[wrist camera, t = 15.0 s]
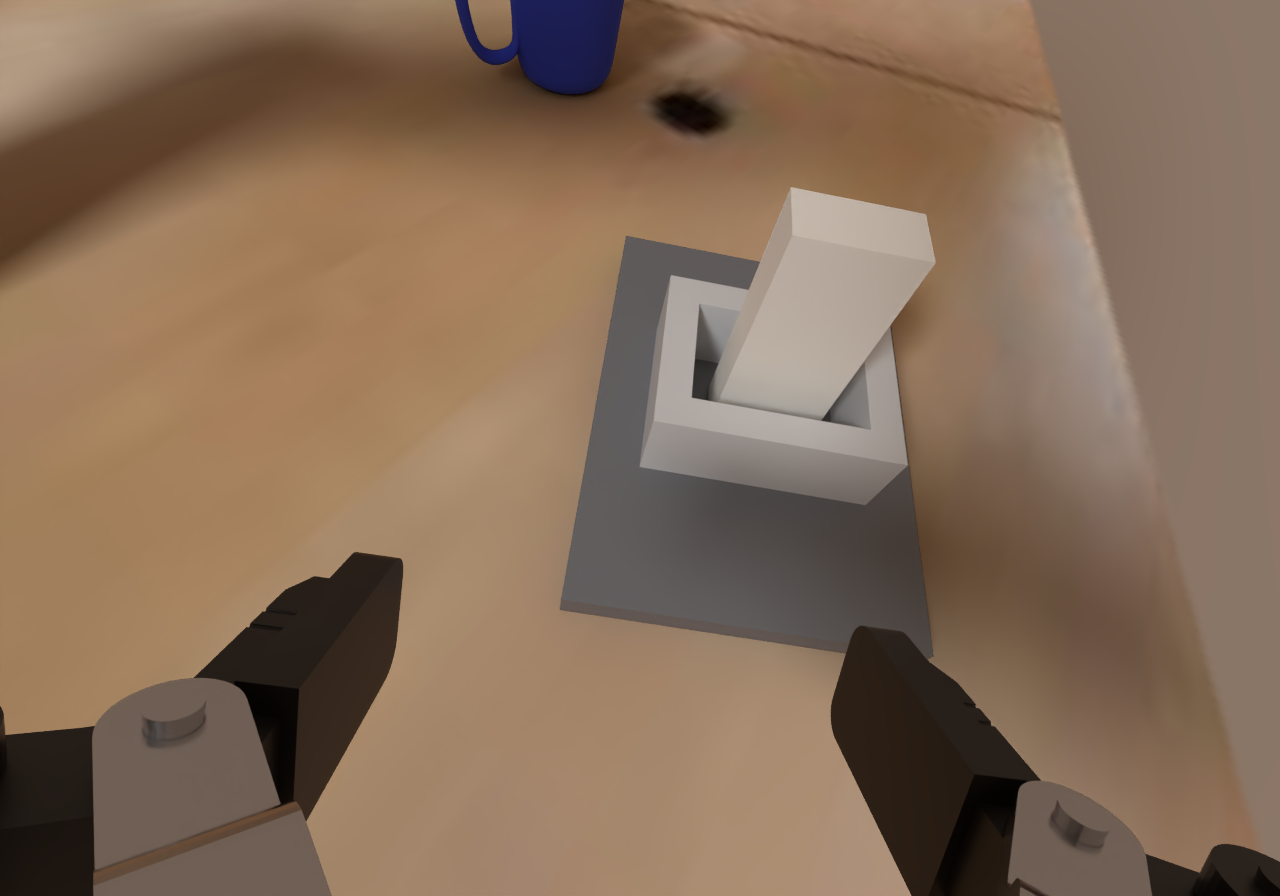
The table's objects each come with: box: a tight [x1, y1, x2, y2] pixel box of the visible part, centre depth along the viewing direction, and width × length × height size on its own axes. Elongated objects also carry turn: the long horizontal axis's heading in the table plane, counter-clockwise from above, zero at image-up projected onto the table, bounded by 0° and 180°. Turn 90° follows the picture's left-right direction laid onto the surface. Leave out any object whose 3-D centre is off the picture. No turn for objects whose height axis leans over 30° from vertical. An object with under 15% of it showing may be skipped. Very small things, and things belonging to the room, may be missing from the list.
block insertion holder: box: [560, 236, 933, 659], centre depth 31 cm, size 22×16×6 cm
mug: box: [455, 0, 624, 94], centre depth 42 cm, size 8×12×10 cm
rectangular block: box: [708, 187, 936, 421], centre depth 27 cm, size 2×5×12 cm, turn 84°
